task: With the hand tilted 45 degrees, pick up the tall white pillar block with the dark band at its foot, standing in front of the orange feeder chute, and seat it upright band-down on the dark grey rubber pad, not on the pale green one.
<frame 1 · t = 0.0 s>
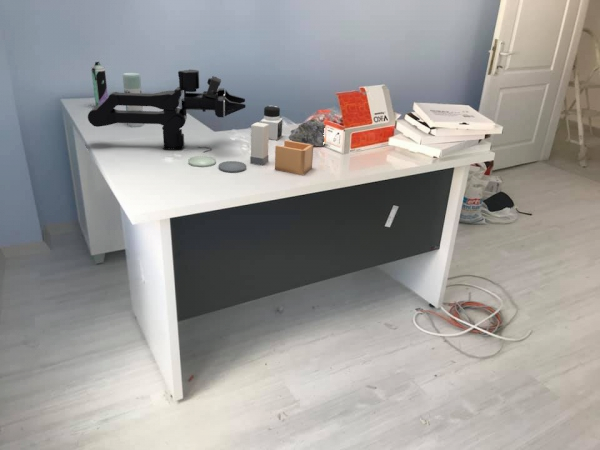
hand: (245, 103, 174), 17 cm above the table, tool horizontal, fingers open, 9 cm apart
spray can: (102, 108, 223), on the table
pad pale: (202, 162, 165), on the table
mineral rock: (308, 144, 192), on the table
tall white pillar block: (259, 162, 169), on the table
medicine bottle: (271, 137, 197), on the table
pad dark: (232, 167, 162), on the table
spray paint can: (135, 125, 202), on the table
feeder chute: (293, 168, 165), on the table
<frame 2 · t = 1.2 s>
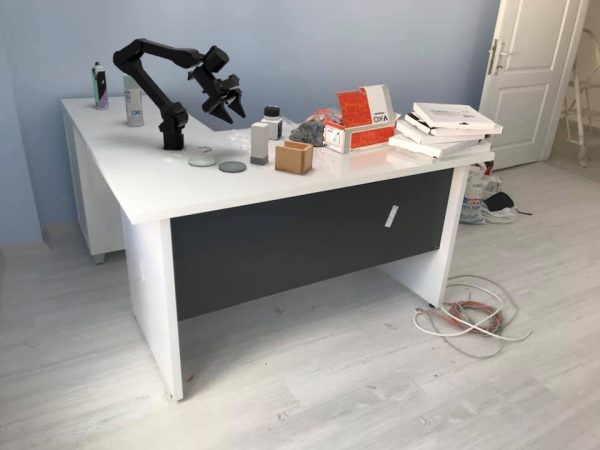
hand: (238, 120, 165), 13 cm above the table, tool tilted 45°, fingers open, 9 cm apart
nothing on the table moved.
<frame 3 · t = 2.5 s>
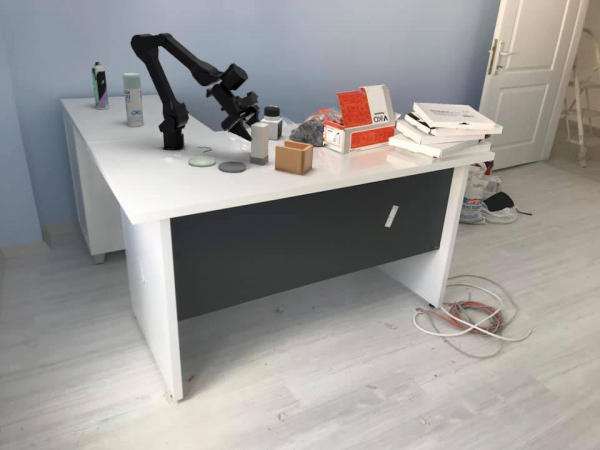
hand: (257, 137, 165), 9 cm above the table, tool tilted 45°, fingers open, 9 cm apart
nothing on the table moved.
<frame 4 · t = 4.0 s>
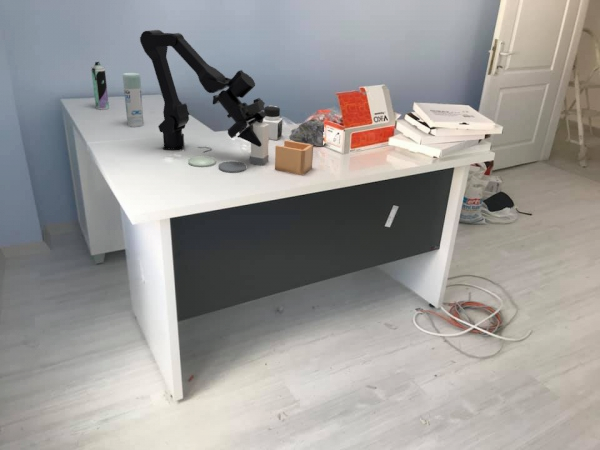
hand: (263, 144, 165), 7 cm above the table, tool tilted 45°, fingers closed on tall white pillar block, 4 cm apart
tall white pillar block: (259, 162, 169), on the table, touching gripper
everything else where it was.
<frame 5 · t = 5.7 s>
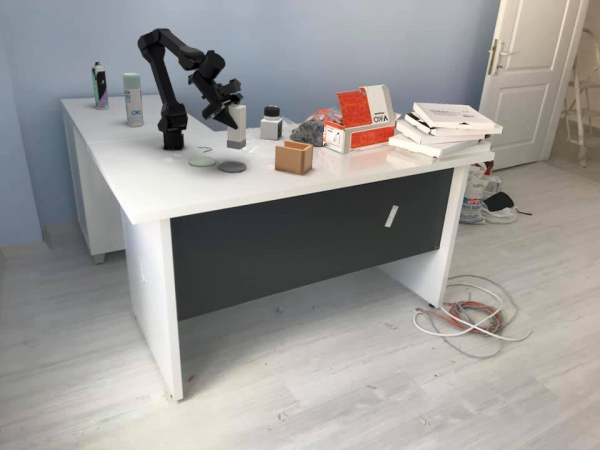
hand: (240, 127, 157), 13 cm above the table, tool tilted 45°, fingers closed on tall white pillar block, 4 cm apart
tall white pillar block: (236, 146, 160), point 7 cm above the table, touching gripper
everything else where it was.
when the fingers open (8 cm above the table, at t = 7.4 s): tall white pillar block stays where it is, resting on pad dark.
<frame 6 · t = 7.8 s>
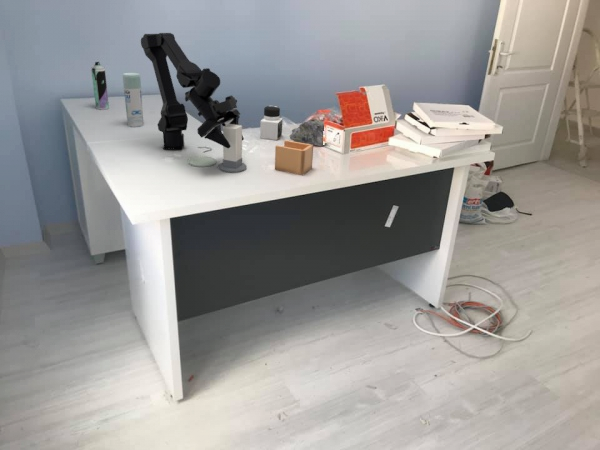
hand: (236, 143, 158), 8 cm above the table, tool tilted 45°, fingers open, 9 cm apart
tall white pillar block: (232, 165, 162), point 1 cm above the table, touching pad dark
everything else where it was.
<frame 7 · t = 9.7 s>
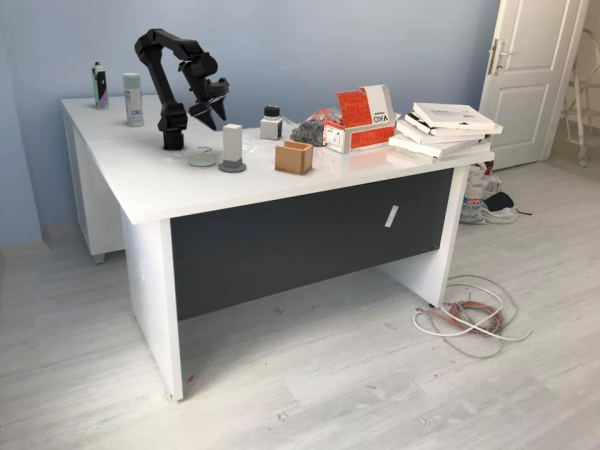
hand: (220, 125, 164), 12 cm above the table, tool tilted 30°, fingers open, 9 cm apart
nothing on the table moved.
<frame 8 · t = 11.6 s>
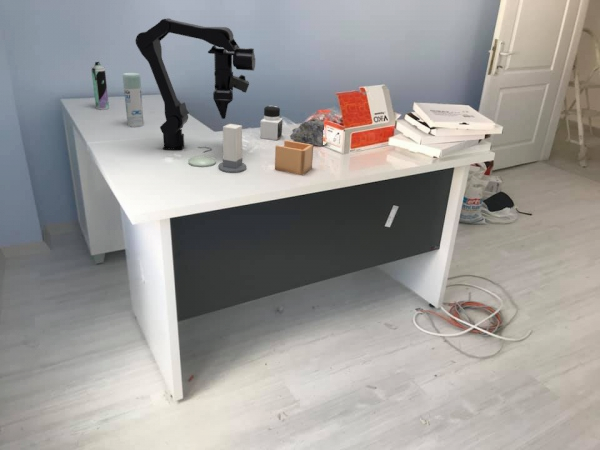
hand: (223, 115, 171), 13 cm above the table, tool pointing down, fingers open, 9 cm apart
at the end: tall white pillar block 0.1 cm from the pad dark (horizontally); tall white pillar block tilted 0°; tall white pillar block touching pad dark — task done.
